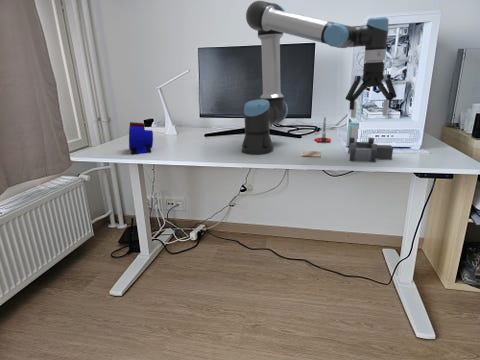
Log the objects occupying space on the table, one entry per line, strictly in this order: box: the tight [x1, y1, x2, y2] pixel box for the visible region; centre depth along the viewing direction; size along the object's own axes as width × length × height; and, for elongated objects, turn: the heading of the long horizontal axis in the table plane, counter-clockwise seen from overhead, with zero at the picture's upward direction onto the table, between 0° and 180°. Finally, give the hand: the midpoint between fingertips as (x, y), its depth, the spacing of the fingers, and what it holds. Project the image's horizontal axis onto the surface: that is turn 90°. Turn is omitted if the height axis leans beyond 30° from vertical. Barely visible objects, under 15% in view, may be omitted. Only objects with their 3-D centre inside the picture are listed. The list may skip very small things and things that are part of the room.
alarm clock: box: [128, 121, 154, 156], centre depth 157 cm, size 12×12×15 cm
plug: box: [376, 144, 394, 161], centre depth 133 cm, size 7×5×5 cm
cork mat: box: [301, 150, 322, 159], centre depth 141 cm, size 8×8×1 cm
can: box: [346, 120, 359, 147], centre depth 150 cm, size 7×7×12 cm
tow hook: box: [314, 117, 332, 144], centre depth 164 cm, size 8×13×9 cm
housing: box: [347, 137, 378, 163], centre depth 135 cm, size 10×14×7 cm
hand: (369, 116), depth 129 cm, fingers open, 13 cm apart
